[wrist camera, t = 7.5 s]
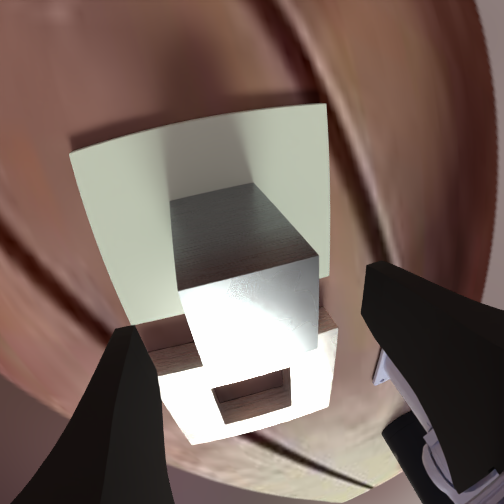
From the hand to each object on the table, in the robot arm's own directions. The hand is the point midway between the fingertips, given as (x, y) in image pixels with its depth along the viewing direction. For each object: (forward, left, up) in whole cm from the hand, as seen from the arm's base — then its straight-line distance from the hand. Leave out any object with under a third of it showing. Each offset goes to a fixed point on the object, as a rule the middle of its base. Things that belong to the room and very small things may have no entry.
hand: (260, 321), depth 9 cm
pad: (0, 0, -8) cm, 8 cm away
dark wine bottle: (-21, +39, -8) cm, 45 cm away
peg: (0, 0, -7) cm, 7 cm away
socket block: (0, +13, -8) cm, 15 cm away
